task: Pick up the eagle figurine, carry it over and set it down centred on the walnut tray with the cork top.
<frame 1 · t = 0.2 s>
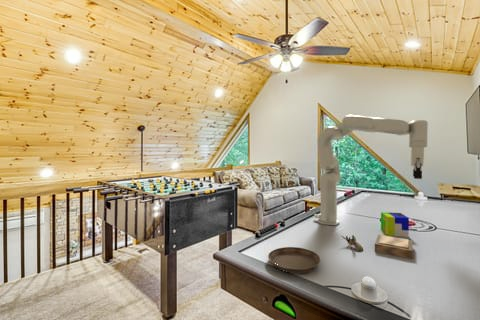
hand: (417, 177, 128), 31 cm above the table, fingers open, 9 cm apart
plant saucer: (293, 264, 100), on the table
puzzle toy: (394, 233, 135), on the table
eagle figurine: (353, 248, 115), on the table
walnut tray: (393, 249, 113), on the table
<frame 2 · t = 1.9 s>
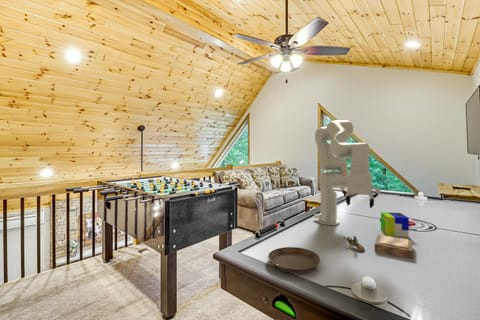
hand: (359, 205, 115), 20 cm above the table, fingers open, 9 cm apart
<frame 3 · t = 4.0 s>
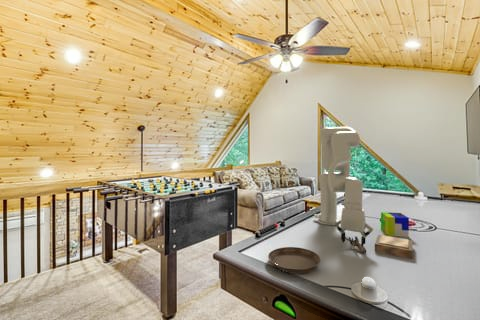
hand: (353, 243, 115), 2 cm above the table, fingers closed on eagle figurine, 7 cm apart
eagle figurine: (356, 250, 113), on the table, touching gripper
everything else where it was.
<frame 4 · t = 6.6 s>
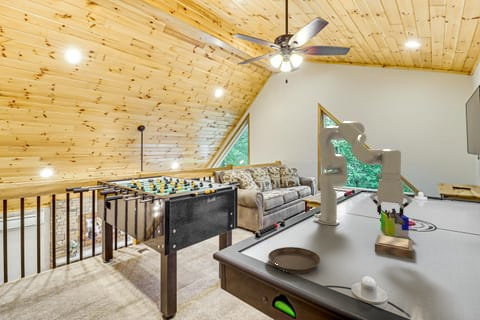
hand: (390, 215, 112), 16 cm above the table, fingers closed on eagle figurine, 7 cm apart
eagle figurine: (393, 222, 111), point 13 cm above the table, touching gripper
everything else where it was.
when the fingers open (7 cm above the table, at t = 9.0 s): eagle figurine stays where it is, resting on walnut tray.
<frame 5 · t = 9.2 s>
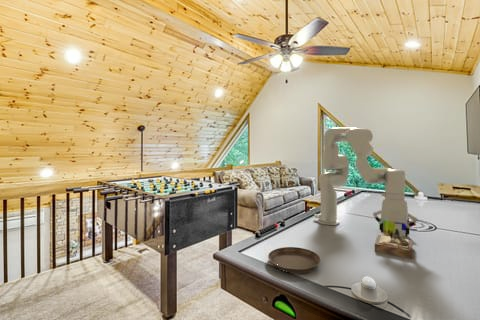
hand: (393, 233, 113), 7 cm above the table, fingers open, 9 cm apart
eagle figurine: (397, 242, 111), point 4 cm above the table, touching walnut tray
everything else where it was.
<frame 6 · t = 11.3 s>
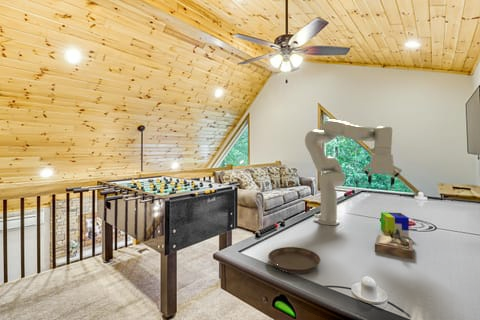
hand: (380, 184, 126), 28 cm above the table, fingers open, 9 cm apart
nothing on the table moved.
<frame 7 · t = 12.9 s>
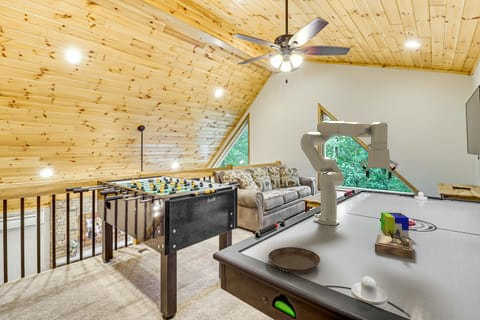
hand: (378, 179, 129), 30 cm above the table, fingers open, 9 cm apart
nothing on the table moved.
at the end: eagle figurine inside the target area on the walnut tray (2.1 cm from its centre), point 3.8 cm above the walnut tray's base; eagle figurine tilted 0°; the gripper is holding nothing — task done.
